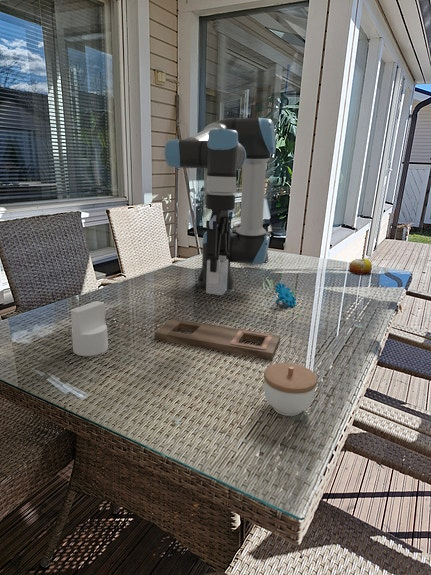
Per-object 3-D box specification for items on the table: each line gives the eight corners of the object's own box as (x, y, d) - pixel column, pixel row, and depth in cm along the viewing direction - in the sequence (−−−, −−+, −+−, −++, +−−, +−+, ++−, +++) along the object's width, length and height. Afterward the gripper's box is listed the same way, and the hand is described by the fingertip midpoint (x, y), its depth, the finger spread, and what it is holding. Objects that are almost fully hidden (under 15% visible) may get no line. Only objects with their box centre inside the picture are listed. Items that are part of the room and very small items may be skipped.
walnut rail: (172, 324, 125) (172, 317, 125) (279, 342, 115) (280, 335, 115) (154, 338, 114) (154, 331, 114) (272, 360, 104) (272, 352, 104)
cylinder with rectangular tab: (89, 359, 101) (86, 315, 98) (65, 350, 106) (62, 307, 102) (115, 346, 109) (113, 305, 105) (92, 338, 113) (89, 298, 110)
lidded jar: (257, 394, 89) (260, 355, 86) (304, 393, 90) (308, 355, 87) (267, 424, 79) (271, 381, 76) (320, 422, 80) (325, 381, 77)
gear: (287, 306, 140) (273, 282, 144) (275, 314, 144) (262, 291, 147) (303, 303, 149) (290, 281, 152) (291, 311, 152) (279, 289, 155)
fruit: (351, 267, 206) (358, 253, 203) (370, 276, 202) (377, 262, 198) (344, 270, 197) (351, 256, 194) (363, 280, 193) (371, 265, 189)
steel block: (211, 288, 113) (212, 257, 111) (226, 290, 112) (228, 259, 109) (206, 292, 109) (207, 260, 107) (221, 295, 108) (223, 262, 105)
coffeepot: (255, 264, 205) (258, 229, 200) (244, 260, 213) (246, 226, 207) (277, 261, 214) (280, 227, 209) (265, 257, 221) (268, 225, 216)
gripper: (218, 191, 112) (215, 271, 119) (193, 194, 96) (191, 287, 103) (244, 192, 110) (239, 275, 116) (223, 196, 94) (219, 291, 101)
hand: (217, 280), depth 110 cm, fingers closed on steel block, 4 cm apart
